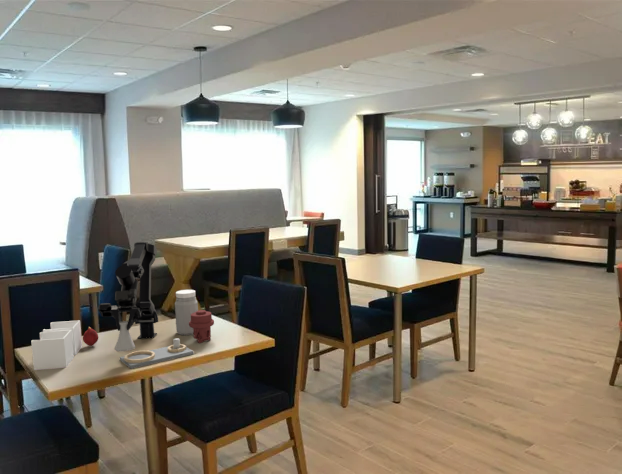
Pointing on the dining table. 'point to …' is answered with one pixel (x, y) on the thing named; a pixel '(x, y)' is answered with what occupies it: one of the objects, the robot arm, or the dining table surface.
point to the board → (156, 355)
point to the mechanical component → (201, 325)
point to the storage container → (57, 345)
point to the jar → (185, 310)
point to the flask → (124, 338)
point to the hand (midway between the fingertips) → (123, 330)
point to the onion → (90, 337)
